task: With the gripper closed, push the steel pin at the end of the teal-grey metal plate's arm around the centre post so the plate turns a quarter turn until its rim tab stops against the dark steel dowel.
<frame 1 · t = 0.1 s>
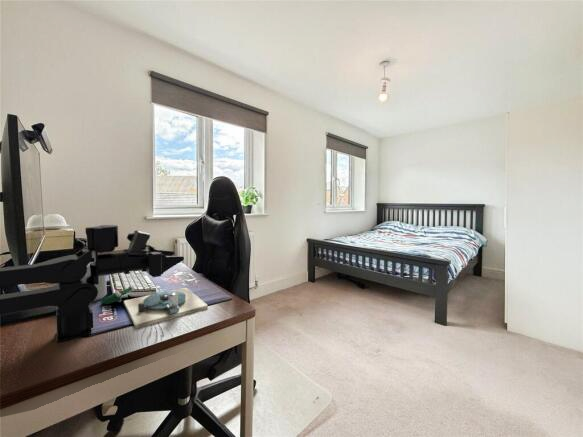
hand: (178, 255, 79), 17 cm above the table, tool horizontal, fingers open, 9 cm apart
post base: (165, 305, 80), on the table
green irregular piece: (120, 300, 84), on the table
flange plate: (166, 294, 79), point 4 cm above the table, hinge at 0.0°
can: (93, 298, 85), on the table
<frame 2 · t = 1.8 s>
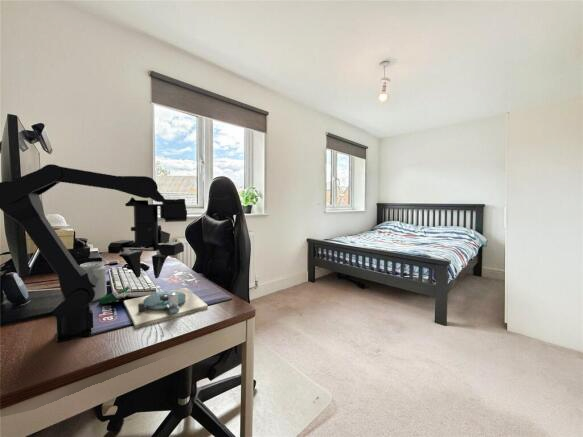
hand: (147, 277, 71), 12 cm above the table, tool pointing down, fingers open, 5 cm apart
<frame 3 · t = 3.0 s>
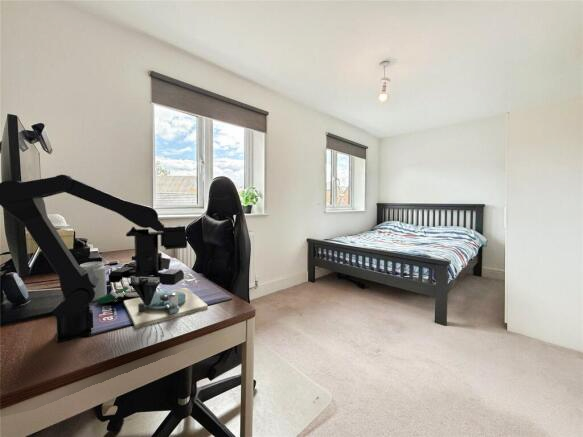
hand: (147, 305, 71), 4 cm above the table, tool pointing down, fingers closed
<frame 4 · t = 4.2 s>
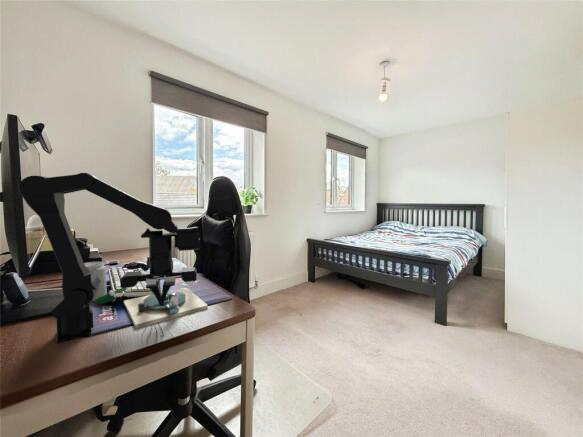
hand: (161, 305, 72), 4 cm above the table, tool pointing down, fingers closed
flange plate: (166, 294, 79), point 4 cm above the table, hinge at 0.0°, touching gripper
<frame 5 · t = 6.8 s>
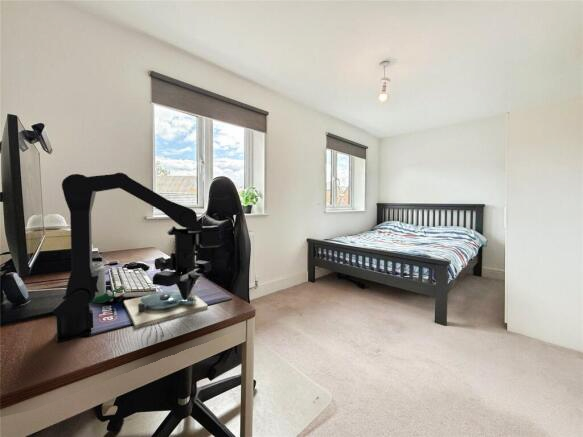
hand: (184, 299, 76), 4 cm above the table, tool pointing down, fingers closed
green irregular piece: (112, 300, 85), on the table, touching can
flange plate: (168, 293, 80), point 4 cm above the table, hinge at 44.9°, touching gripper
can: (92, 298, 85), on the table, touching green irregular piece
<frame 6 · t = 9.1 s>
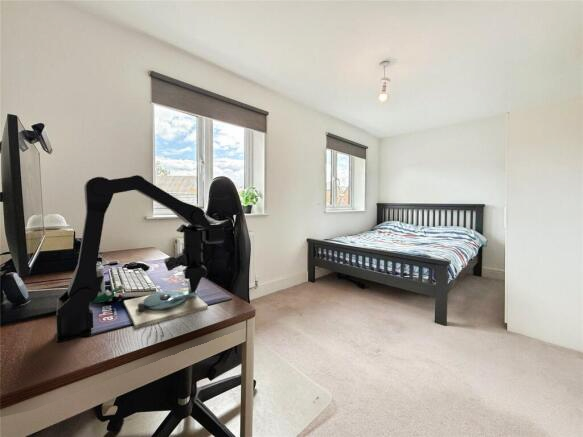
hand: (193, 291, 83), 4 cm above the table, tool pointing down, fingers closed
green irregular piece: (111, 300, 85), on the table
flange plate: (168, 292, 81), point 4 cm above the table, hinge at 90.5°, touching gripper, post base
can: (91, 298, 85), on the table
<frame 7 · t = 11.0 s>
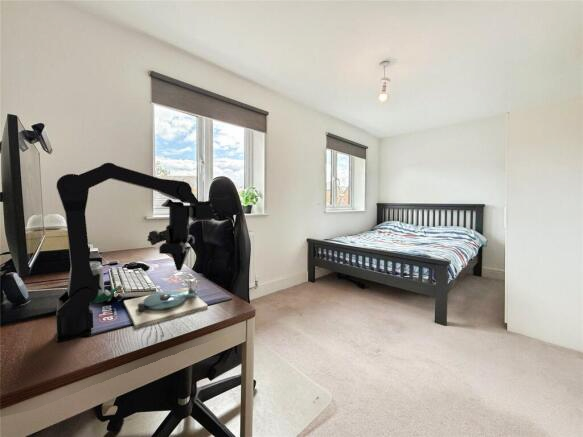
hand: (178, 270, 80), 12 cm above the table, tool pointing down, fingers closed
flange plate: (168, 292, 81), point 4 cm above the table, hinge at 90.5°, touching post base
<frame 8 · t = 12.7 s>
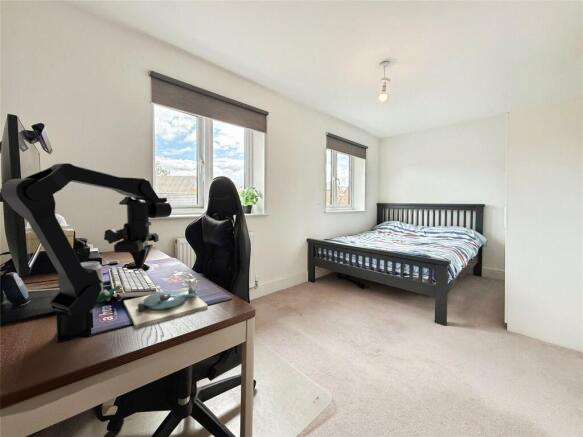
hand: (139, 268, 79), 12 cm above the table, tool pointing down, fingers closed
at the end: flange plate at +90° (first picture: +0°) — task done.
